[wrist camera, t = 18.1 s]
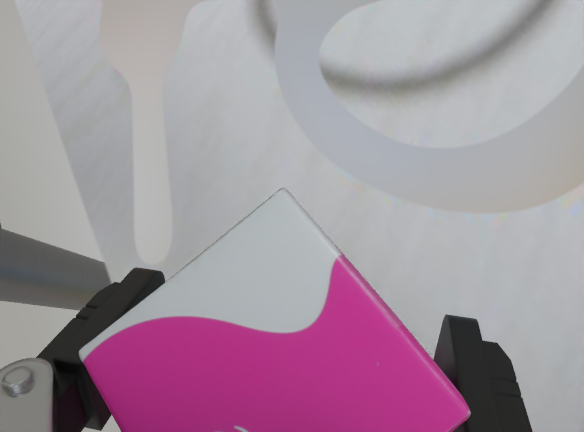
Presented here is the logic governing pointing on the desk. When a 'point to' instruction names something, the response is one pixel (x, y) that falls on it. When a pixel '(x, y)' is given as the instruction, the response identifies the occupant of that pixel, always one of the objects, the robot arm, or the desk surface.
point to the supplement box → (269, 343)
